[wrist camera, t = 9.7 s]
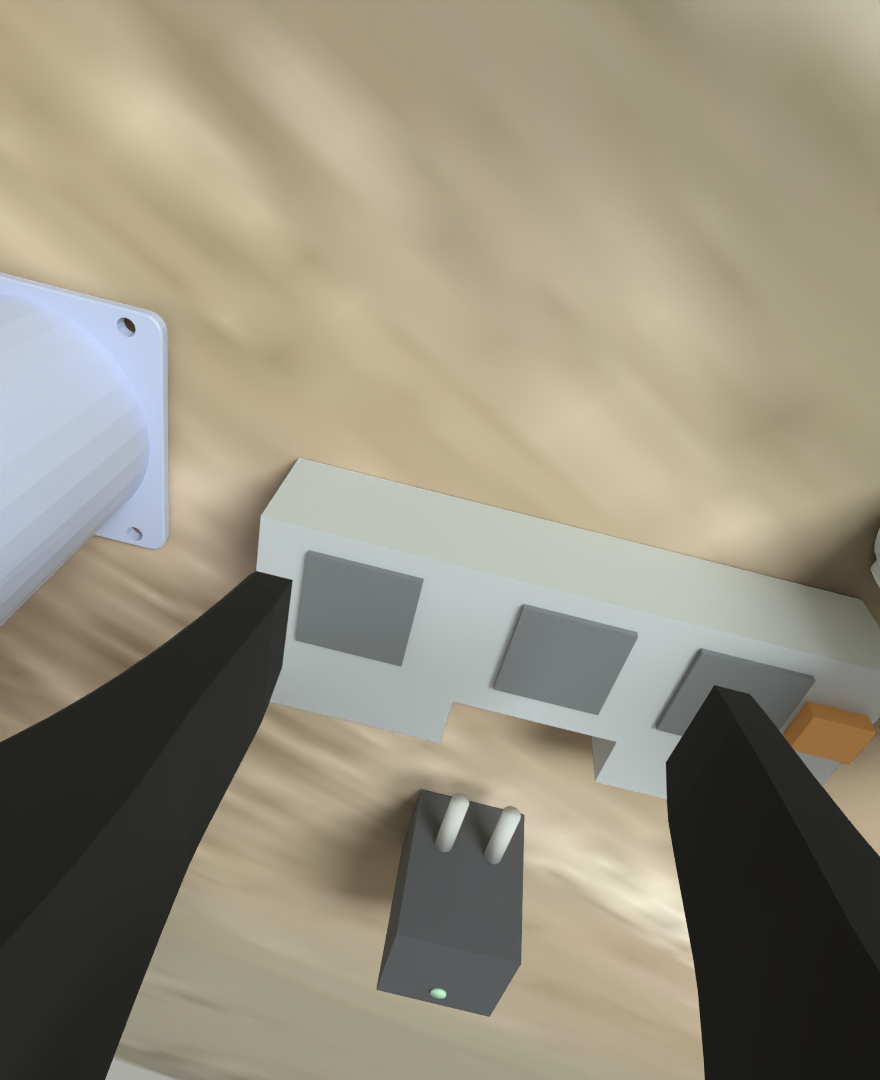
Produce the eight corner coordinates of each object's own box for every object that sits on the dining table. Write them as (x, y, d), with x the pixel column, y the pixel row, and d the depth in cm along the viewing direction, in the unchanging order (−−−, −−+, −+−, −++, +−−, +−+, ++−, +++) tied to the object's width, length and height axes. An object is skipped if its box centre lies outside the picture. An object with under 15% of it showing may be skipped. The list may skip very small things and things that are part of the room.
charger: (402, 847, 32) (375, 992, 27) (434, 747, 28) (411, 895, 23) (497, 870, 32) (489, 1019, 27) (543, 774, 28) (544, 927, 23)
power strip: (279, 625, 25) (239, 709, 22) (299, 457, 21) (252, 527, 18) (756, 743, 25) (790, 845, 22) (861, 599, 22) (921, 695, 18)
